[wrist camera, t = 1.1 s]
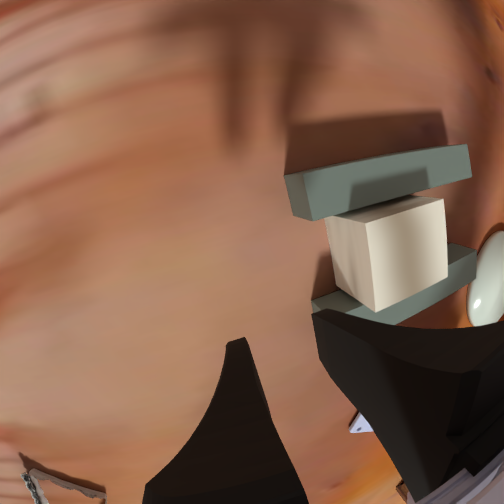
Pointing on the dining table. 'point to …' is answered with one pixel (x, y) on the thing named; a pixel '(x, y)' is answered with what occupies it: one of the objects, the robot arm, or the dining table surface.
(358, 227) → the cream block
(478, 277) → the pale green oval piece
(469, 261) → the slot holder
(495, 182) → the dining table surface
